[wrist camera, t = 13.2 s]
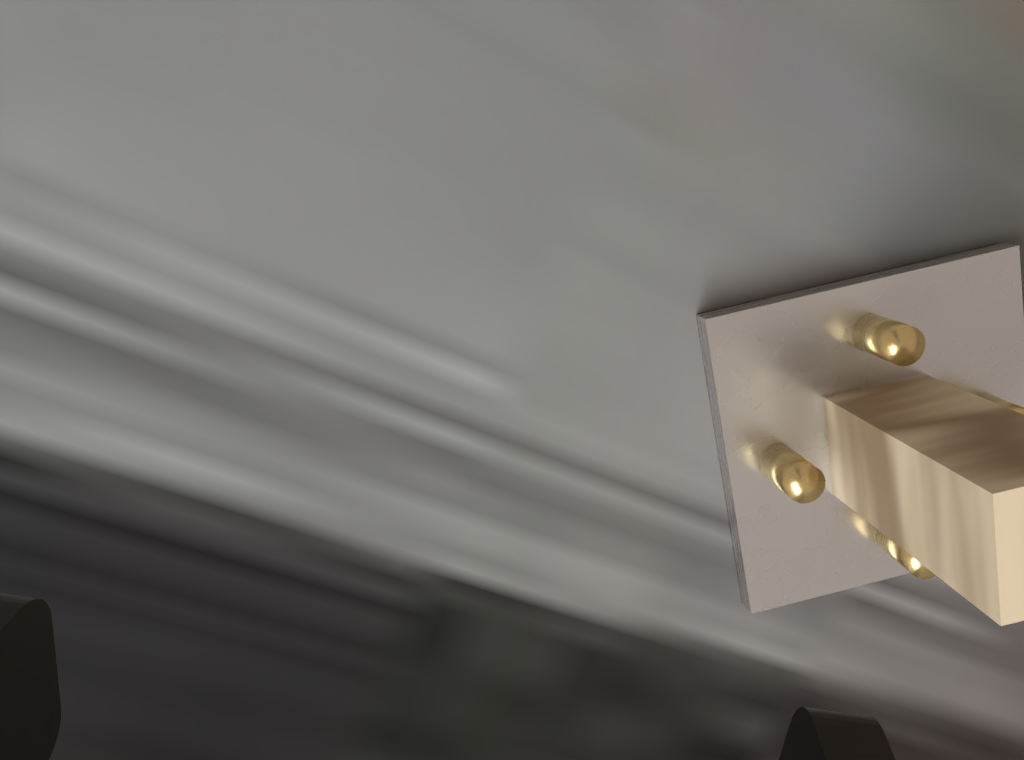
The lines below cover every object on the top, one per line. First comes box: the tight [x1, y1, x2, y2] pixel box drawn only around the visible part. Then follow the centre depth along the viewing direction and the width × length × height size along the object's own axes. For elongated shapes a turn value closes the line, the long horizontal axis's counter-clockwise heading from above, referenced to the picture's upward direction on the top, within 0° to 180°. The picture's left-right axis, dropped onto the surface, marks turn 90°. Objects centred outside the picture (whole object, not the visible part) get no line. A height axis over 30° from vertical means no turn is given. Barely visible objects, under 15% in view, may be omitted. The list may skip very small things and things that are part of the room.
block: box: [823, 374, 1024, 626], centre depth 30 cm, size 4×4×10 cm
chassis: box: [696, 243, 1024, 614], centre depth 34 cm, size 12×12×4 cm
